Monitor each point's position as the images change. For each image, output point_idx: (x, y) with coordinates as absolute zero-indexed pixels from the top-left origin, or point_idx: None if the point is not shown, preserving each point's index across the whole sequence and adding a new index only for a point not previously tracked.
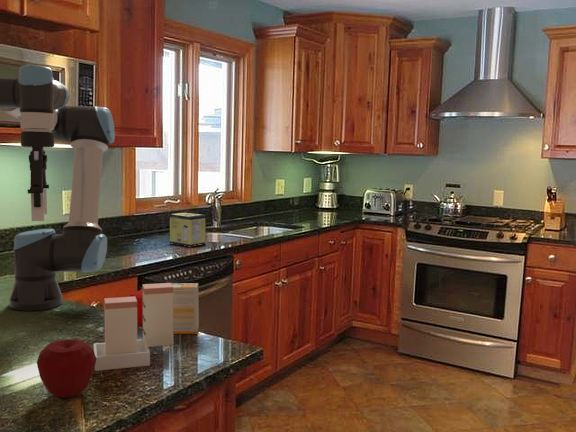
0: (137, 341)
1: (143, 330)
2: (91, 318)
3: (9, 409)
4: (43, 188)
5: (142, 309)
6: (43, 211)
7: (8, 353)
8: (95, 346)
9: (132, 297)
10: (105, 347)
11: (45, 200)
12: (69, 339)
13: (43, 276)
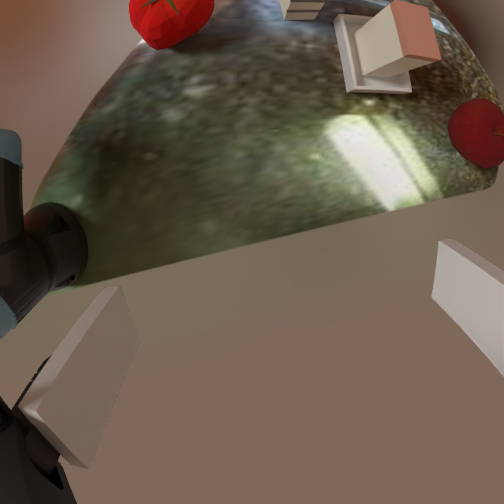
0: (344, 25)
1: (305, 10)
2: (129, 122)
3: (471, 187)
4: (30, 427)
5: (213, 6)
6: (484, 260)
7: (310, 224)
8: (367, 87)
9: (402, 6)
10: (388, 73)
11: (84, 347)
12: (485, 129)
13: (38, 246)
